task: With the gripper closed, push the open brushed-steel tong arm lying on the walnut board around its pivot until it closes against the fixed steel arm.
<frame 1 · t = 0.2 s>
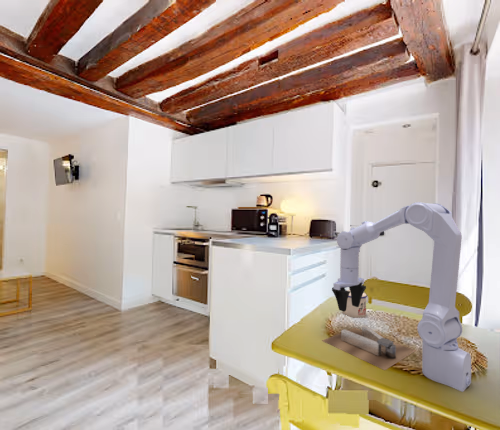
hand: (349, 308, 89), 10 cm above the table, tool pointing down, fingers open, 7 cm apart
tong arm: (377, 340, 81), point 3 cm above the table, hinge at -30.0°
walnut board: (367, 348, 82), on the table
teacup with lid: (355, 314, 111), on the table
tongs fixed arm: (360, 347, 80), resting on walnut board
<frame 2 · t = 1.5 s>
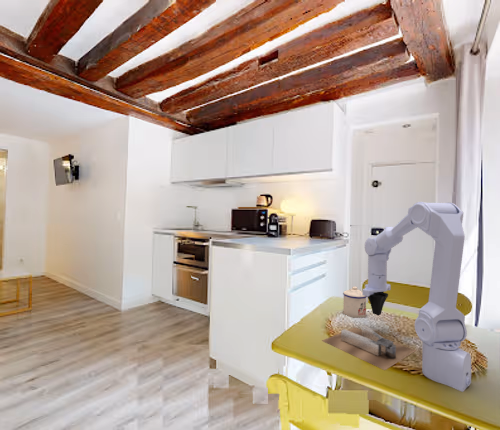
hand: (376, 314, 91), 7 cm above the table, tool pointing down, fingers closed
nothing on the table moved.
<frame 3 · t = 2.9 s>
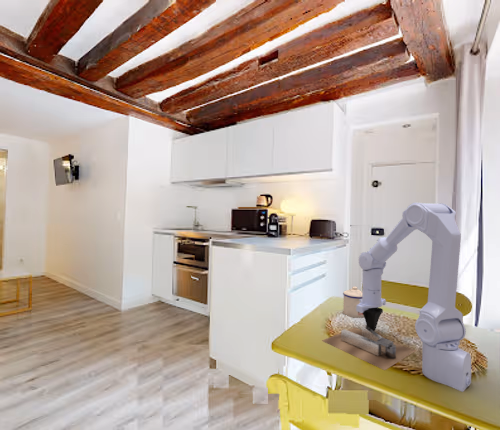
hand: (371, 329, 89), 3 cm above the table, tool pointing down, fingers closed
tong arm: (377, 340, 81), point 3 cm above the table, hinge at -30.0°, touching gripper
everything else where it was.
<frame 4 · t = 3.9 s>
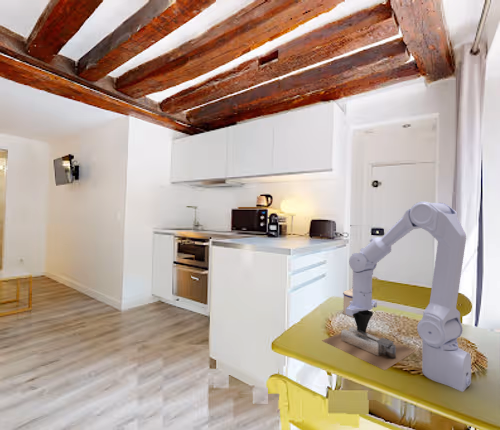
hand: (361, 333, 86), 3 cm above the table, tool pointing down, fingers closed
tong arm: (371, 341, 81), point 3 cm above the table, hinge at -8.6°, touching gripper
everything else where it was.
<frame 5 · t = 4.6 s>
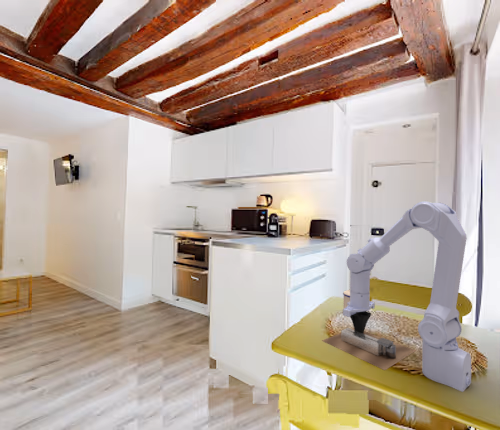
hand: (359, 334, 85), 3 cm above the table, tool pointing down, fingers closed
tong arm: (369, 342, 80), point 3 cm above the table, hinge at -0.2°, touching gripper
everything else where it was.
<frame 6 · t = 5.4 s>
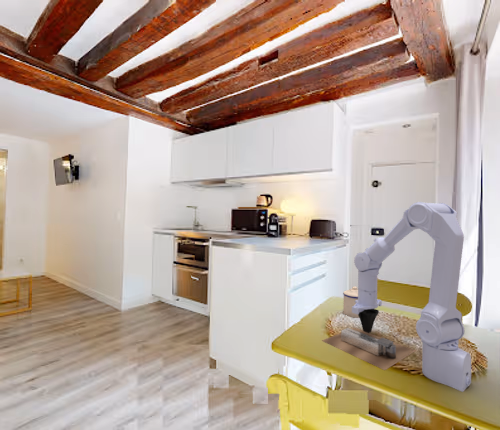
hand: (367, 331, 87), 3 cm above the table, tool pointing down, fingers closed
tong arm: (369, 342, 80), point 3 cm above the table, hinge at 0.0°
everything else where it was.
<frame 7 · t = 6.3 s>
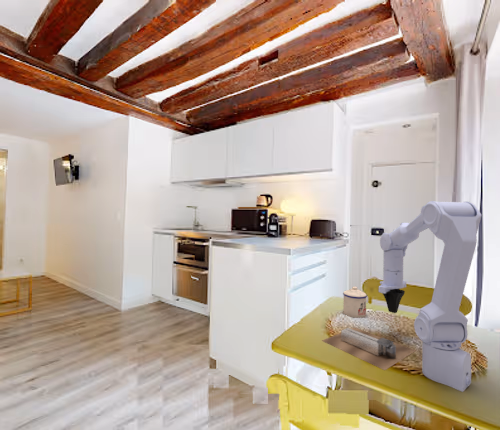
hand: (392, 312, 87), 9 cm above the table, tool pointing down, fingers closed
nothing on the table moved.
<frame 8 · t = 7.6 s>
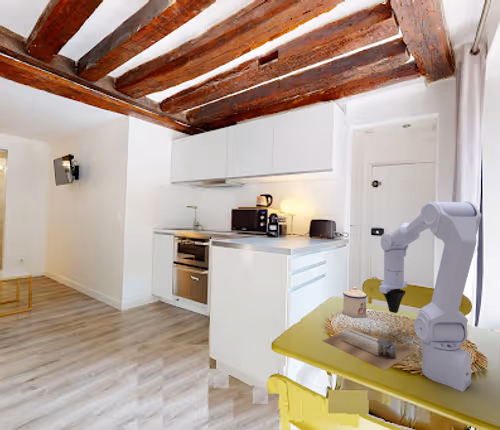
hand: (393, 312, 87), 9 cm above the table, tool pointing down, fingers closed
nothing on the table moved.
at the end: tong arm at +0° (first picture: -30°); teacup with lid moved 0.2 cm from its start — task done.
